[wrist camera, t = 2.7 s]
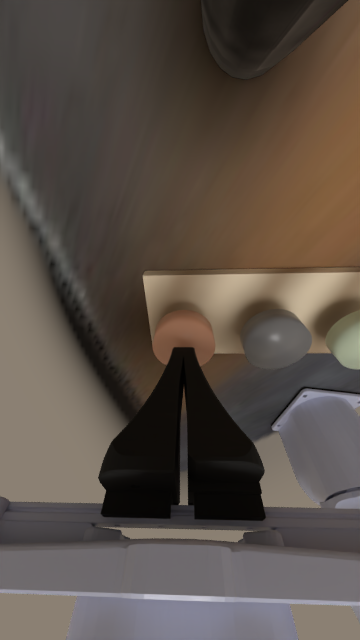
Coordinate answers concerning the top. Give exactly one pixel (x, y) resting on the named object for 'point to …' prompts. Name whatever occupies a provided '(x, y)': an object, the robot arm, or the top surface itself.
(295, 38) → the beverage cup
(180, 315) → the terracotta button
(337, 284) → the button board
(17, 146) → the top surface
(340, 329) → the sage button
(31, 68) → the top surface
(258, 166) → the top surface
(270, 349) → the charcoal button
